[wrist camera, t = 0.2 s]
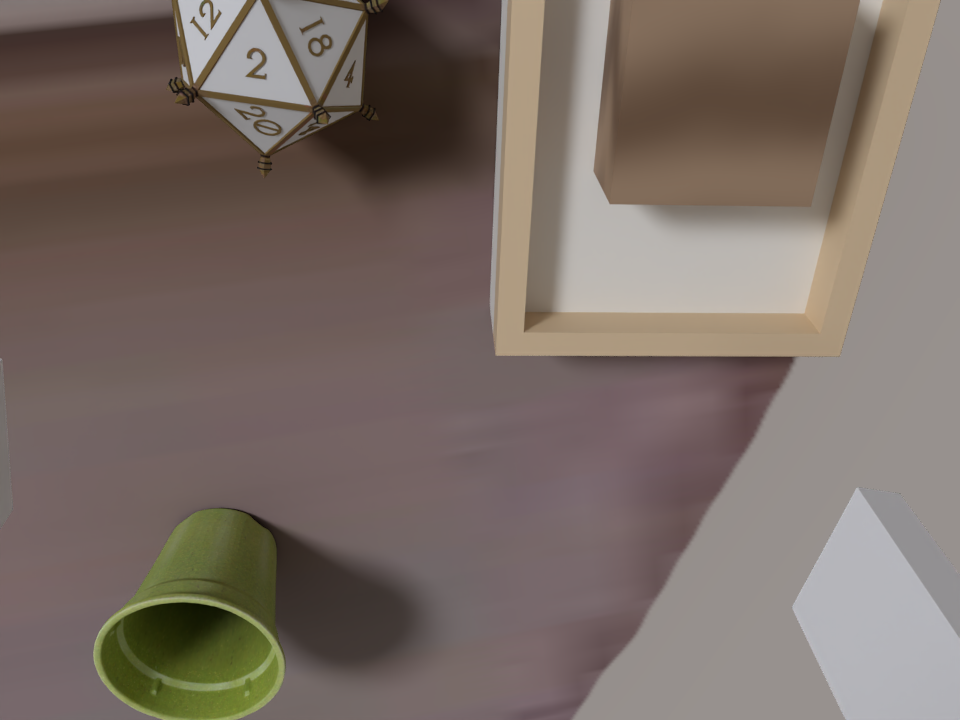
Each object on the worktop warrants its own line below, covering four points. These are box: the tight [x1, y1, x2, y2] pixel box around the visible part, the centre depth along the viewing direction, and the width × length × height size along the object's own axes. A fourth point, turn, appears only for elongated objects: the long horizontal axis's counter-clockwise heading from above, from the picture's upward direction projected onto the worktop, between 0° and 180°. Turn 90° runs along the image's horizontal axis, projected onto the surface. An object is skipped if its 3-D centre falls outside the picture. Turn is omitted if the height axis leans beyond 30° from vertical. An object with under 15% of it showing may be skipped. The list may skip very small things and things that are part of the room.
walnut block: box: [593, 0, 860, 207], centre depth 33 cm, size 8×8×4 cm
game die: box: [166, 0, 389, 178], centre depth 33 cm, size 9×8×10 cm
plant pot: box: [93, 508, 286, 720], centre depth 47 cm, size 9×9×9 cm
